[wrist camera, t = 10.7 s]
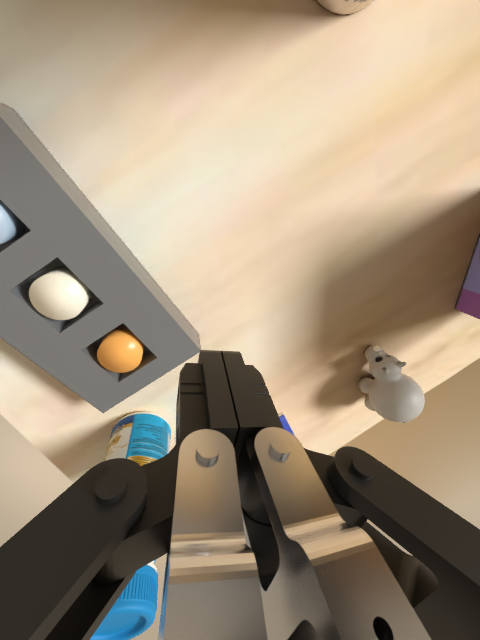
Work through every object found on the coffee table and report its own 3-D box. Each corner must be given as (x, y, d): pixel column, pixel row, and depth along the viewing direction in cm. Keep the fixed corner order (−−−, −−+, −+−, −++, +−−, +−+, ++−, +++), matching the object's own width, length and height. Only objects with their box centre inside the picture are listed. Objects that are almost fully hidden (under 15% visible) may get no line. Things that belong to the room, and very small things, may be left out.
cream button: (34, 281, 26) (16, 293, 23) (69, 257, 26) (56, 265, 23) (70, 314, 28) (58, 328, 25) (103, 292, 28) (94, 303, 25)
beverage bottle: (176, 442, 41) (175, 630, 24) (121, 455, 40) (75, 663, 22) (165, 403, 37) (153, 593, 20) (103, 415, 36) (31, 630, 18)
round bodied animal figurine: (380, 332, 43) (421, 340, 35) (399, 397, 45) (443, 420, 36) (341, 347, 43) (372, 360, 34) (361, 412, 44) (397, 440, 36)
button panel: (-117, 207, 22) (-173, 210, 18) (13, 108, 21) (-21, 92, 17) (110, 390, 34) (102, 413, 31) (198, 334, 33) (201, 351, 30)
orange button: (95, 337, 30) (87, 353, 27) (127, 316, 29) (121, 330, 27) (123, 362, 32) (118, 379, 29) (153, 343, 31) (150, 358, 29)
